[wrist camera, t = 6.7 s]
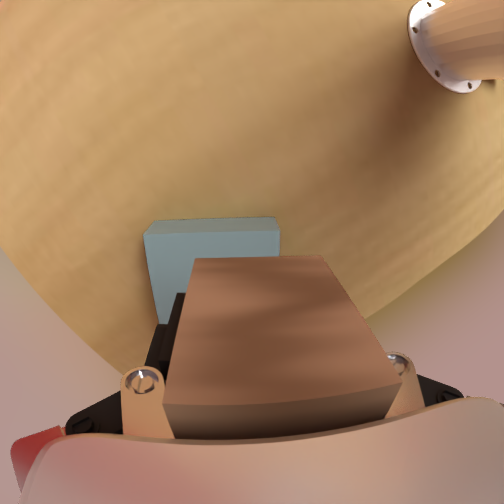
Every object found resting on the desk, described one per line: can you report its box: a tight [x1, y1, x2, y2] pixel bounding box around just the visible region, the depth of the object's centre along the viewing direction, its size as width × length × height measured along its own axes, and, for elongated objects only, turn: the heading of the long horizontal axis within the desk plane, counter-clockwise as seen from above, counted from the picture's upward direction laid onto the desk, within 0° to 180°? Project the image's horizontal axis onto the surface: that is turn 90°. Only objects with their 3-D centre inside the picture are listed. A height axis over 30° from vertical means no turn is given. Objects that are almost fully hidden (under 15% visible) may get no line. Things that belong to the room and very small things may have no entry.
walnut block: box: [162, 255, 403, 440], centre depth 9 cm, size 5×5×7 cm
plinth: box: [143, 217, 280, 324], centre depth 29 cm, size 12×12×4 cm
